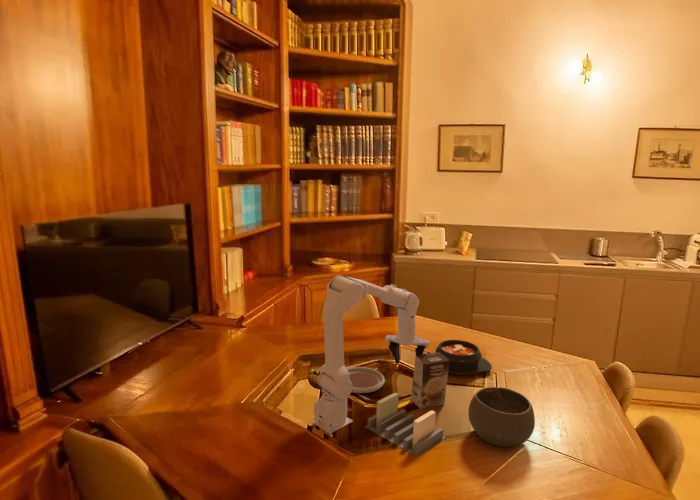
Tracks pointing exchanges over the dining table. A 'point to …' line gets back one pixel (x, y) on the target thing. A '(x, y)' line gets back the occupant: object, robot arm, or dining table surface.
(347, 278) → the robot arm
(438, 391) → the coffee box
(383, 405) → the sage plate
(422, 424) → the cream plate
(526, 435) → the bowl
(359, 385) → the frying pan
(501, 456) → the dining table surface
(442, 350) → the casserole
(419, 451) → the dish rack
